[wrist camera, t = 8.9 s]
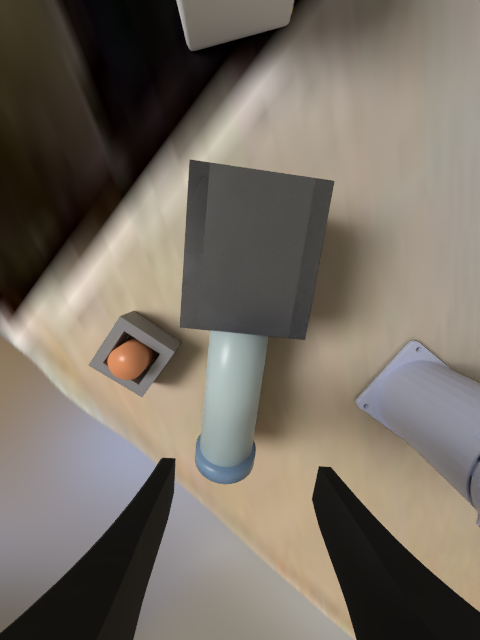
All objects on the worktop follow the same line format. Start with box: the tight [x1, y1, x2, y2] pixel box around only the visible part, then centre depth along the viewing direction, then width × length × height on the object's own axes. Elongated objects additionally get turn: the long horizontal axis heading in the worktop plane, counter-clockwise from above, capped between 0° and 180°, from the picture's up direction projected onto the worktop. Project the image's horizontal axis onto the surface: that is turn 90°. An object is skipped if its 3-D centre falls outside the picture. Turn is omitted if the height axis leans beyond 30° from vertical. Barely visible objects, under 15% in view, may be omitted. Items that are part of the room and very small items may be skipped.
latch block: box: [89, 311, 181, 397], centre depth 18 cm, size 5×5×2 cm
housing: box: [180, 160, 334, 340], centre depth 15 cm, size 9×7×6 cm
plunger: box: [108, 337, 157, 380], centre depth 18 cm, size 3×3×3 cm
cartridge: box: [195, 330, 269, 484], centre depth 17 cm, size 15×5×5 cm, turn 173°
